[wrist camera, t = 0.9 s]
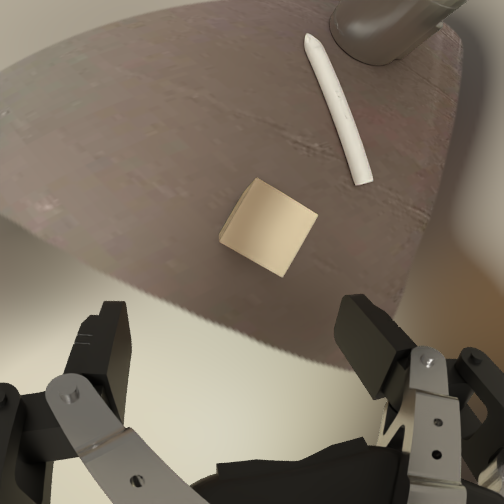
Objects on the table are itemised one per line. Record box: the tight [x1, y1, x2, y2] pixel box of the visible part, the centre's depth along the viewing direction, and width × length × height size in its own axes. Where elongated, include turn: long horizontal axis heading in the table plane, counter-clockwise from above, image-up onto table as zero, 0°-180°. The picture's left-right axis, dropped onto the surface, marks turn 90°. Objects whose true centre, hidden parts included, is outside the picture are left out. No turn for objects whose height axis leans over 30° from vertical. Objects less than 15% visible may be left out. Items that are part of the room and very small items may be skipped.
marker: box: [304, 33, 373, 186], centre depth 29 cm, size 18×2×2 cm, turn 18°
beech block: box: [219, 177, 318, 278], centre depth 25 cm, size 4×4×11 cm
